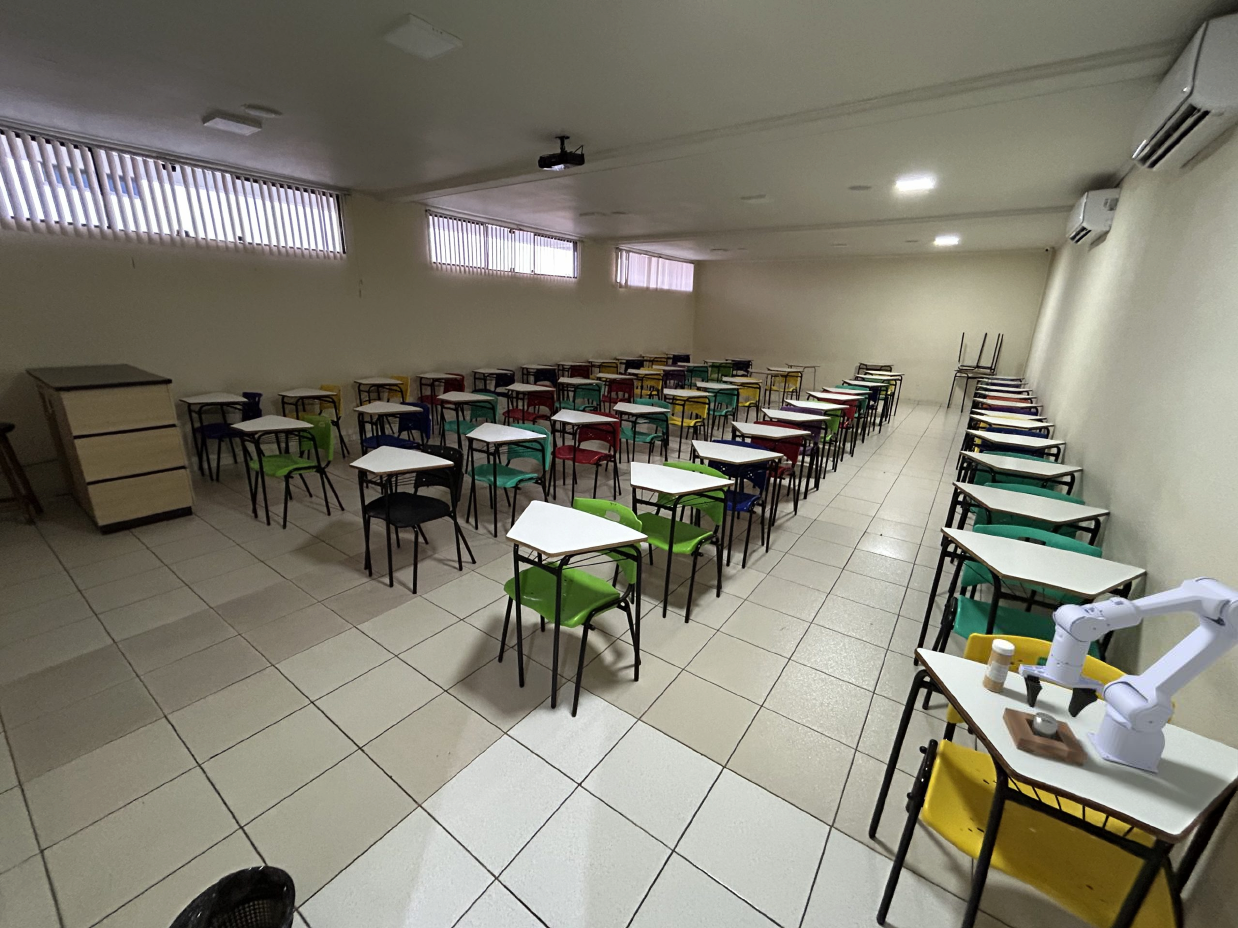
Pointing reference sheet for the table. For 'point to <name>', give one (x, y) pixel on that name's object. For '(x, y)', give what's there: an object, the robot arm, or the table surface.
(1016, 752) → the table surface
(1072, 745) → the socket block
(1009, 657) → the sprinkles bottle
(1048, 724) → the peg
